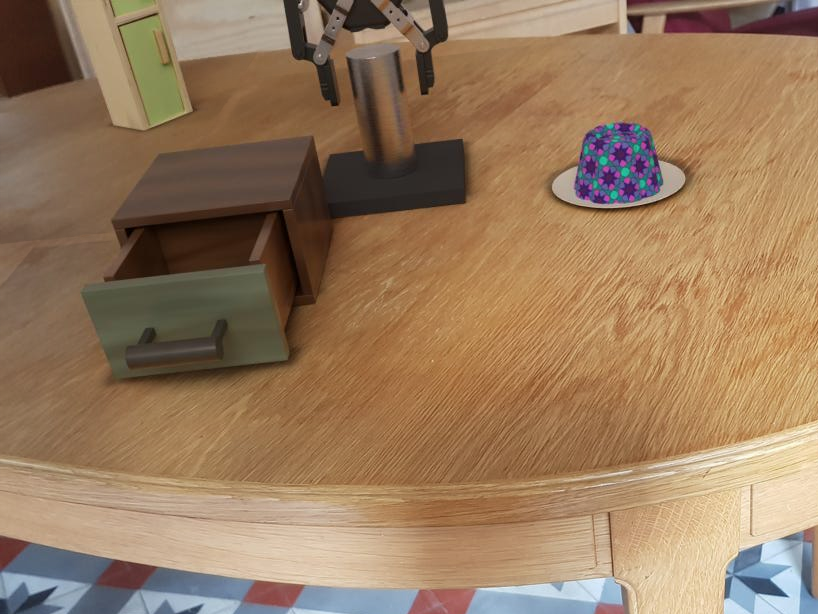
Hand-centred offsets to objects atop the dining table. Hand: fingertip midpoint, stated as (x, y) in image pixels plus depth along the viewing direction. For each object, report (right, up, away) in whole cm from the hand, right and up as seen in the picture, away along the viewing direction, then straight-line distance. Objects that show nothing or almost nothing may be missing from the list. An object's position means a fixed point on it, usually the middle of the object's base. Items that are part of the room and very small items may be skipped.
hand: (380, 98), depth 89 cm
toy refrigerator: (-32, +9, +31) cm, 45 cm away
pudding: (+22, -9, -2) cm, 24 cm away
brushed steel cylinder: (+1, -5, +4) cm, 7 cm away
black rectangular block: (+1, -6, +5) cm, 8 cm away
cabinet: (-11, -18, -8) cm, 22 cm away
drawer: (-10, -25, -19) cm, 33 cm away
